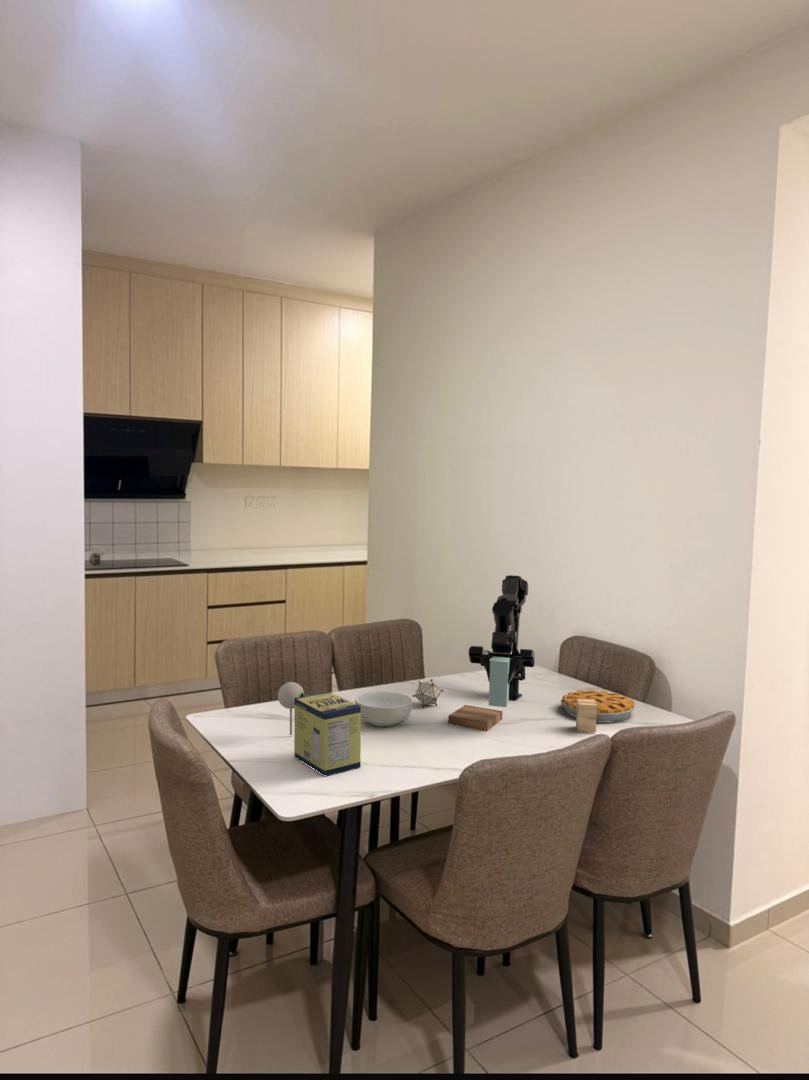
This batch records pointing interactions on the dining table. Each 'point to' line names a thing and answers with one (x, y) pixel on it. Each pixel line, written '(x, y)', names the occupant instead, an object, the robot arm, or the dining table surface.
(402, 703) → the cereal bowl
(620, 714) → the pie
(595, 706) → the oak block
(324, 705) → the protein box
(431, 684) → the wireframe polyhedron model
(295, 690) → the lollipop
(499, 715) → the walnut slab
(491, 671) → the teal block
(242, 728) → the dining table surface
